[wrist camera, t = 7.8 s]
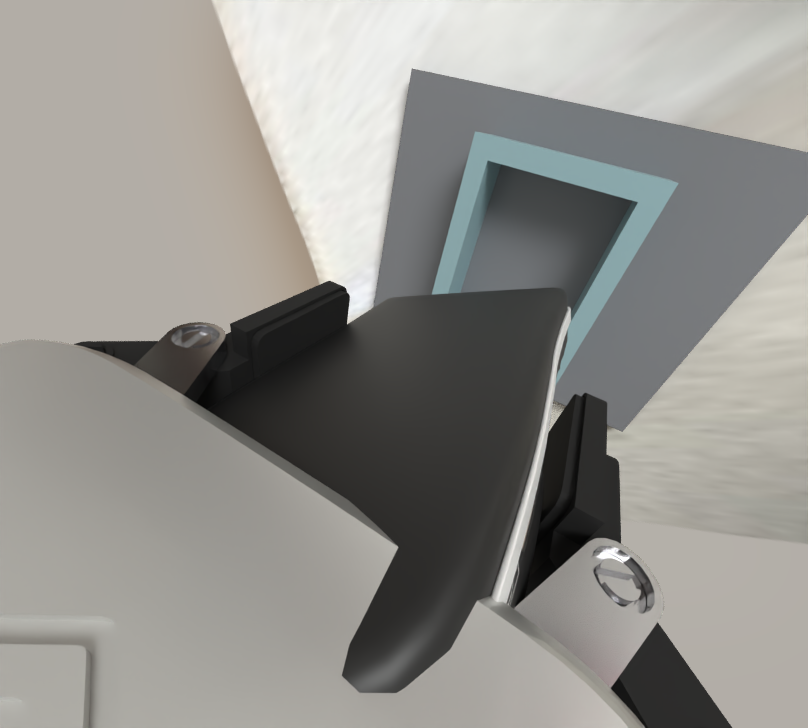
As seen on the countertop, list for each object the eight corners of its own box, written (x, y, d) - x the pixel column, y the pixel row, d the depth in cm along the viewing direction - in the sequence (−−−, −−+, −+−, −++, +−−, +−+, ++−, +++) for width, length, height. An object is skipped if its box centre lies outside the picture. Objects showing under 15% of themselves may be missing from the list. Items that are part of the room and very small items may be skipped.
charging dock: (842, 161, 14) (900, 163, 11) (622, 424, 24) (623, 462, 21) (418, 71, 20) (384, 56, 17) (377, 314, 29) (351, 331, 26)
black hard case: (402, 376, 15) (133, 658, 7) (384, 294, 14) (0, 524, 5) (575, 389, 12) (477, 1004, 3) (577, 281, 10) (395, 917, 2)
